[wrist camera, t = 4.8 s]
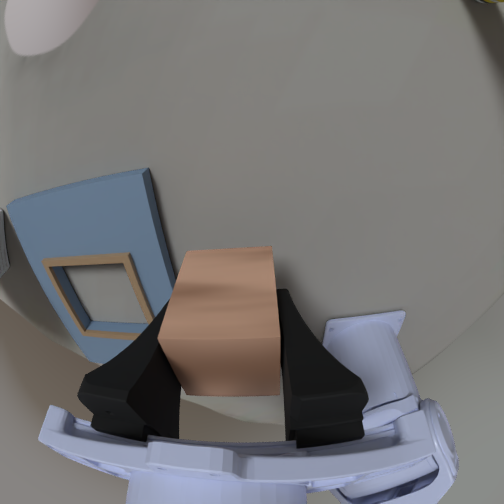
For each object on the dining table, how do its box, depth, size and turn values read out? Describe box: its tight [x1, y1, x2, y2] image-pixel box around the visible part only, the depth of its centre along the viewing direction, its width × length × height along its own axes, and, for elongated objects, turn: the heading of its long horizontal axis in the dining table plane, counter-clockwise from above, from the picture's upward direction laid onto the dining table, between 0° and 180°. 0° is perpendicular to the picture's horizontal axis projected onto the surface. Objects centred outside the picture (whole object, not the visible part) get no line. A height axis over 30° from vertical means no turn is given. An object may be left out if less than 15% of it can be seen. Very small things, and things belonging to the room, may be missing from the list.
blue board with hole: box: [6, 168, 176, 364], centre depth 21 cm, size 20×14×2 cm
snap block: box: [157, 246, 280, 396], centre depth 13 cm, size 4×4×6 cm
